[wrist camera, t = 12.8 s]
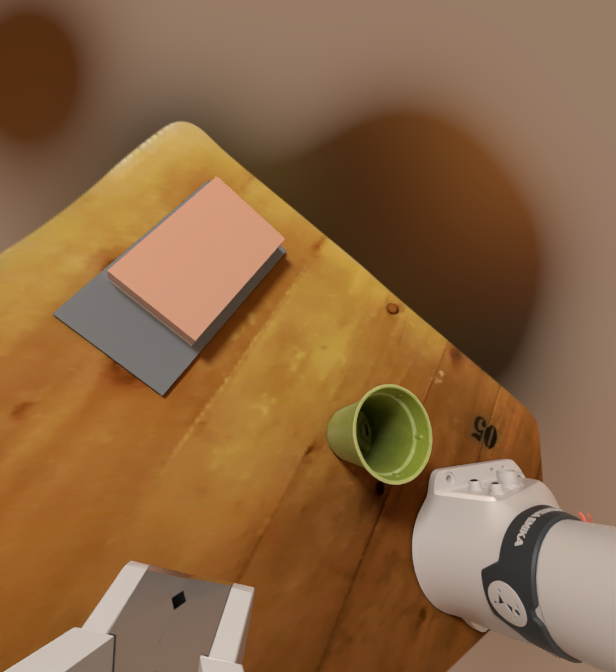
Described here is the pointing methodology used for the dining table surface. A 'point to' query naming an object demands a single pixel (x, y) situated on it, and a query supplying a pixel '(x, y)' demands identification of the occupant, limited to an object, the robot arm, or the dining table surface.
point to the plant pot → (383, 434)
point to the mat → (143, 325)
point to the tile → (196, 260)
